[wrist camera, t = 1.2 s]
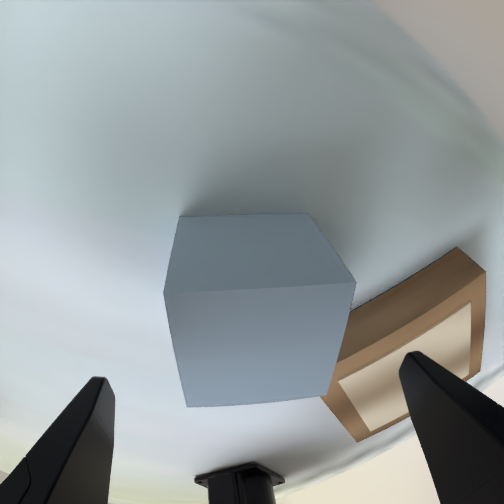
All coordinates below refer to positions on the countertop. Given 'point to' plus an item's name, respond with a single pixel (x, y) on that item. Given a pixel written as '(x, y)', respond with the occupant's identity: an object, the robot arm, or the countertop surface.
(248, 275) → the block
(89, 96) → the countertop surface
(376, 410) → the base
